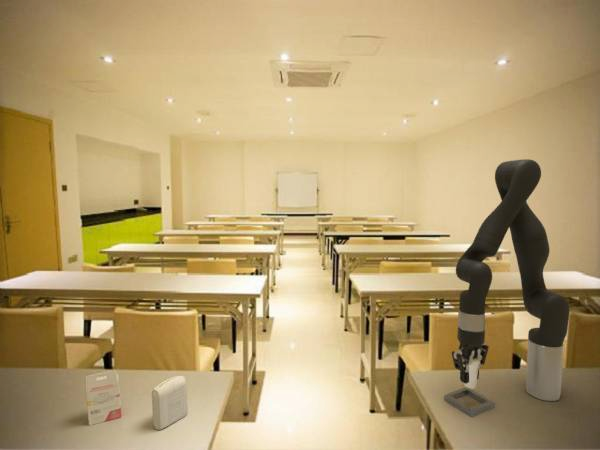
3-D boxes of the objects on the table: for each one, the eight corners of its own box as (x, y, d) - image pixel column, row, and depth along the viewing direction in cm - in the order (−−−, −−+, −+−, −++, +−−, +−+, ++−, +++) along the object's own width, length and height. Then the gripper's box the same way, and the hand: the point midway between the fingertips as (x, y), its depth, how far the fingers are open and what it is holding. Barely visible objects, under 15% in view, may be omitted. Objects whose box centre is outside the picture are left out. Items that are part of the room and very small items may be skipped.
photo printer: (181, 409, 115) (179, 370, 113) (190, 413, 112) (188, 374, 111) (150, 427, 106) (148, 385, 105) (159, 432, 104) (157, 390, 103)
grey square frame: (466, 391, 122) (466, 386, 122) (494, 407, 113) (494, 402, 113) (444, 399, 117) (444, 395, 117) (471, 416, 108) (471, 411, 108)
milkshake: (472, 380, 117) (473, 350, 116) (481, 390, 112) (482, 357, 111) (458, 381, 117) (459, 350, 116) (466, 390, 112) (467, 358, 111)
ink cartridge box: (121, 408, 115) (118, 363, 114) (121, 417, 111) (118, 370, 109) (89, 416, 112) (85, 369, 110) (88, 426, 107) (84, 376, 106)
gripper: (476, 318, 119) (474, 369, 121) (444, 326, 113) (442, 380, 115) (498, 325, 113) (495, 380, 114) (465, 334, 106) (463, 392, 108)
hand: (469, 380), depth 114 cm, fingers closed on milkshake, 4 cm apart
